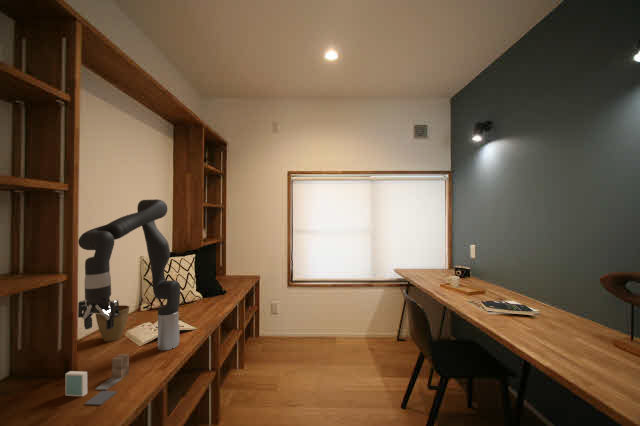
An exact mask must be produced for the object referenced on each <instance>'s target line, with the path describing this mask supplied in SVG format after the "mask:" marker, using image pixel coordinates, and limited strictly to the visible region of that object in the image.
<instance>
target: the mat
mask: <svg viewBox="0 0 640 426" xmlns="http://www.w3.org/2000/svg"><path fill="white" fill-rule="evenodd" d="M115 394H118V391H114V390H100V392H98V393H97V394H96V395H94V396H93V397H91V398H90V399H89V400H87V401H86V402H85V403H84V406H85V405H86V406H101V405H103V404H104V403H106V402H107V401H108V400H110V399H111V398H112V397H113V396H115Z"/></svg>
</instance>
